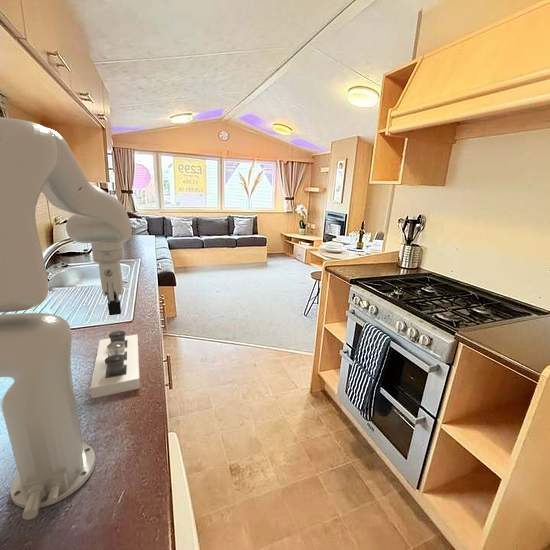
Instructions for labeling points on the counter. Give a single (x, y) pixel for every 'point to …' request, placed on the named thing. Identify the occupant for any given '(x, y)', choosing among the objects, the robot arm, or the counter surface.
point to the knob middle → (116, 348)
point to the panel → (113, 385)
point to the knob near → (115, 364)
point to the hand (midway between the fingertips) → (115, 313)
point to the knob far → (117, 336)
